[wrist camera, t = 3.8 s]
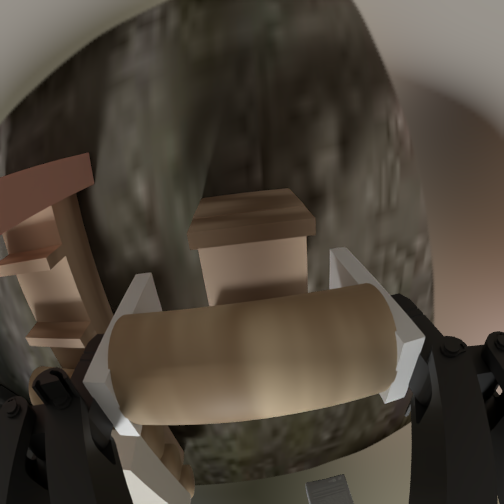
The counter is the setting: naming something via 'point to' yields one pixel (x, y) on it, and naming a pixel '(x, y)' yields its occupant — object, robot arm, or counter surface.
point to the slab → (147, 473)
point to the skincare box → (329, 491)
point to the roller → (253, 357)
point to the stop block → (41, 188)
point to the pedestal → (252, 245)
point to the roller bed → (71, 304)
